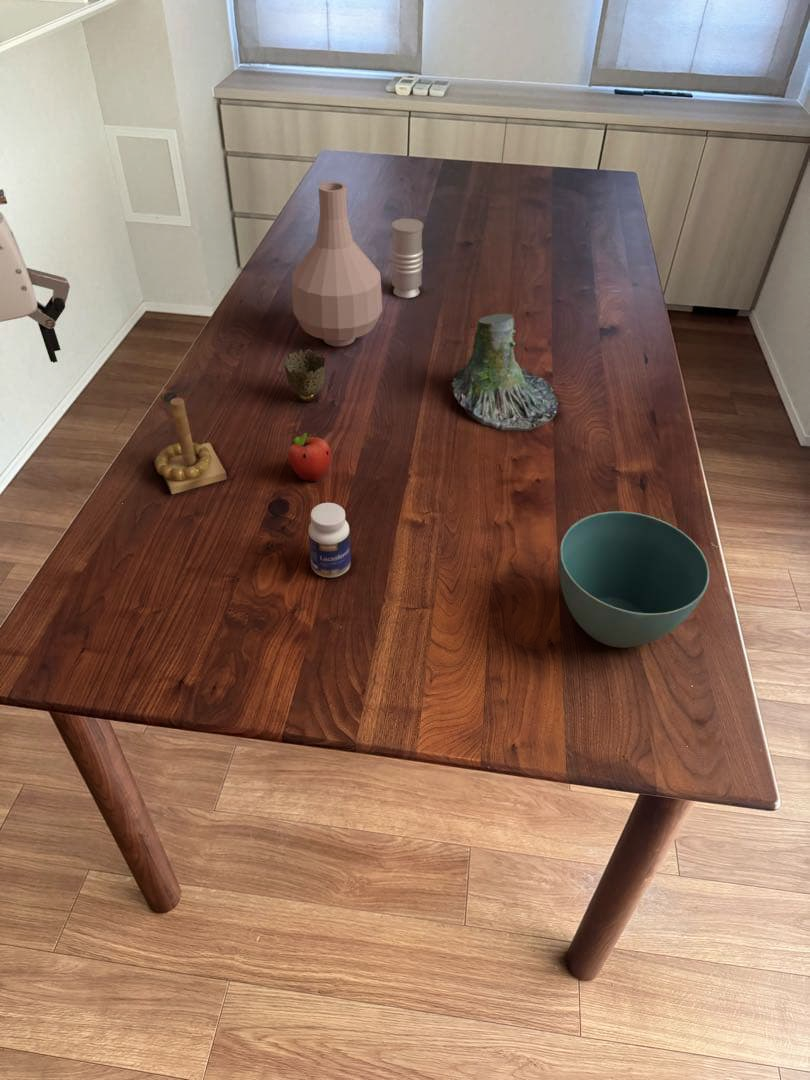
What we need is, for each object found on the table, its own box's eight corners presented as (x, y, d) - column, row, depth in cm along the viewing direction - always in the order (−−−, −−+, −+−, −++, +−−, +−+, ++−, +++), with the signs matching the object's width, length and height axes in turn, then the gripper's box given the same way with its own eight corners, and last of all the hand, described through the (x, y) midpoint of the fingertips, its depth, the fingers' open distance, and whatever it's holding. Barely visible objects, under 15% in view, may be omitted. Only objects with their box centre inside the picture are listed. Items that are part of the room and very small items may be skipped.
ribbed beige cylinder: (420, 284, 181) (422, 218, 170) (422, 298, 176) (424, 231, 165) (390, 284, 180) (390, 218, 170) (391, 298, 175) (391, 231, 165)
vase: (313, 312, 170) (303, 165, 149) (392, 324, 167) (393, 175, 146) (282, 352, 158) (267, 198, 137) (367, 366, 154) (364, 210, 134)
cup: (336, 398, 146) (334, 359, 140) (306, 414, 142) (302, 375, 136) (309, 383, 150) (306, 344, 144) (279, 398, 146) (274, 359, 140)
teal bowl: (664, 574, 114) (685, 510, 105) (701, 677, 100) (730, 613, 92) (538, 575, 113) (549, 510, 105) (558, 679, 100) (574, 614, 91)
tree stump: (499, 447, 136) (488, 347, 127) (434, 416, 151) (420, 325, 142) (579, 410, 143) (574, 313, 133) (510, 384, 158) (501, 295, 149)
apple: (287, 466, 131) (281, 415, 124) (328, 460, 132) (324, 410, 125) (294, 495, 125) (289, 444, 119) (336, 489, 127) (334, 437, 120)
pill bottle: (322, 584, 111) (318, 532, 104) (304, 560, 115) (299, 508, 108) (358, 569, 114) (356, 517, 107) (339, 546, 117) (336, 494, 110)
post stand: (171, 494, 125) (154, 423, 116) (157, 463, 131) (140, 393, 122) (227, 479, 128) (214, 408, 119) (210, 449, 134) (197, 379, 125)
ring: (164, 488, 124) (162, 479, 123) (150, 457, 130) (148, 448, 128) (218, 473, 127) (217, 464, 126) (203, 443, 133) (201, 434, 131)
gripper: (38, 184, 82) (81, 335, 93) (-152, 210, 76) (-81, 367, 87) (49, 209, 77) (94, 365, 88) (-153, 238, 71) (-77, 401, 83)
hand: (7, 366), depth 88 cm, fingers open, 9 cm apart
